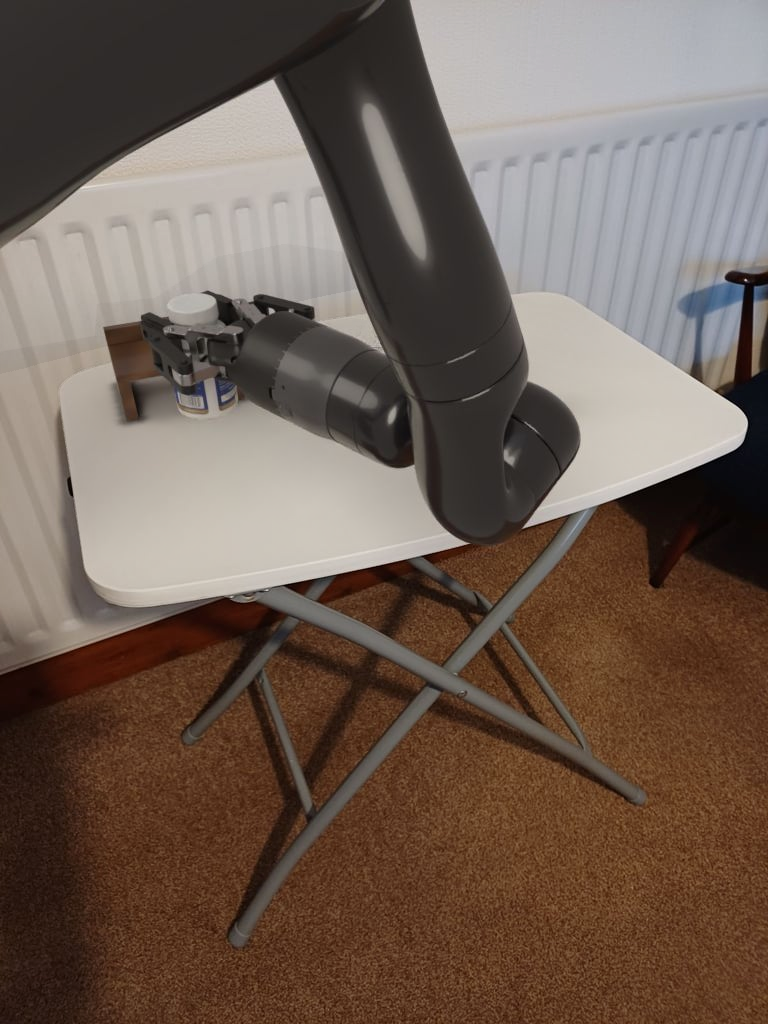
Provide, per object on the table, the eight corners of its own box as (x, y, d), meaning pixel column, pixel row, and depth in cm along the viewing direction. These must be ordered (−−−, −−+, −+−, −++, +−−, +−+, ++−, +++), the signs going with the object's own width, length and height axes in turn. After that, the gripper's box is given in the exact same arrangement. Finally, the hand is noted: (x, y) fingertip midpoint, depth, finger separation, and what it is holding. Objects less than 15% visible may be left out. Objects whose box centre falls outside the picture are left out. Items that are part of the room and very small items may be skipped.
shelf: (126, 421, 92) (111, 360, 87) (117, 386, 98) (102, 326, 93) (244, 398, 96) (236, 338, 91) (227, 365, 102) (219, 308, 97)
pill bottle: (228, 386, 73) (214, 285, 67) (246, 413, 69) (233, 308, 63) (170, 399, 71) (151, 296, 65) (186, 427, 67) (166, 320, 61)
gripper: (380, 299, 59) (235, 246, 68) (233, 366, 51) (89, 296, 60) (381, 386, 64) (245, 326, 73) (246, 461, 56) (111, 383, 64)
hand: (175, 313), depth 66 cm, fingers closed on pill bottle, 5 cm apart
